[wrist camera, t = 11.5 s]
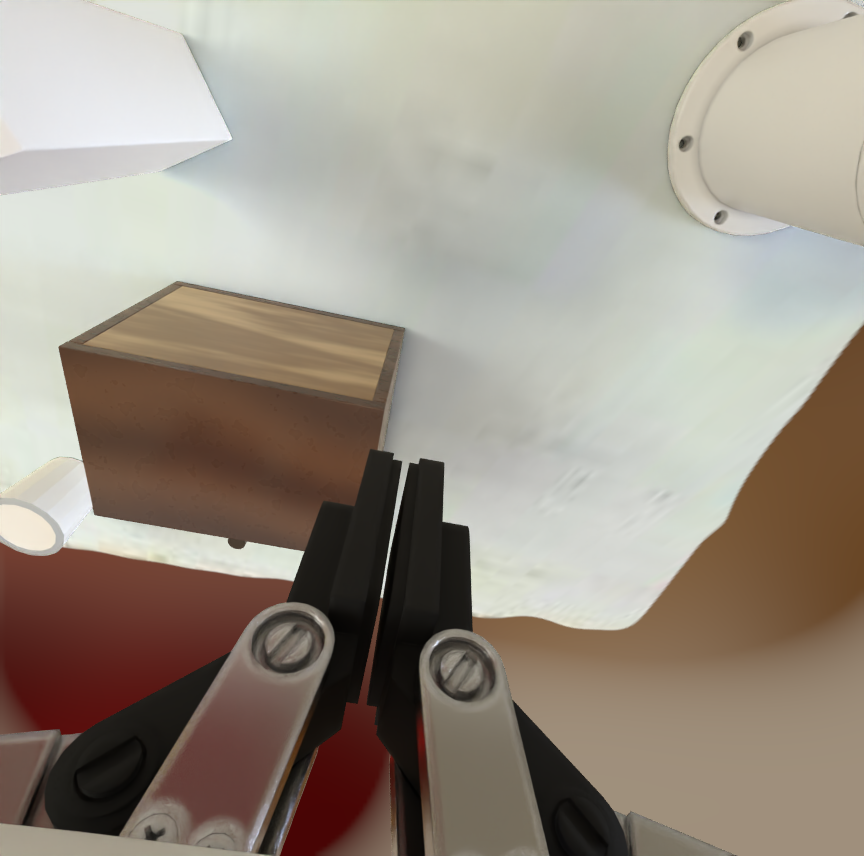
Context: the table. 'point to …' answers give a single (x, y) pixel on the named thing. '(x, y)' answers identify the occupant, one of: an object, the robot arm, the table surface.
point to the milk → (96, 96)
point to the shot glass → (45, 507)
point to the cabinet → (229, 411)
